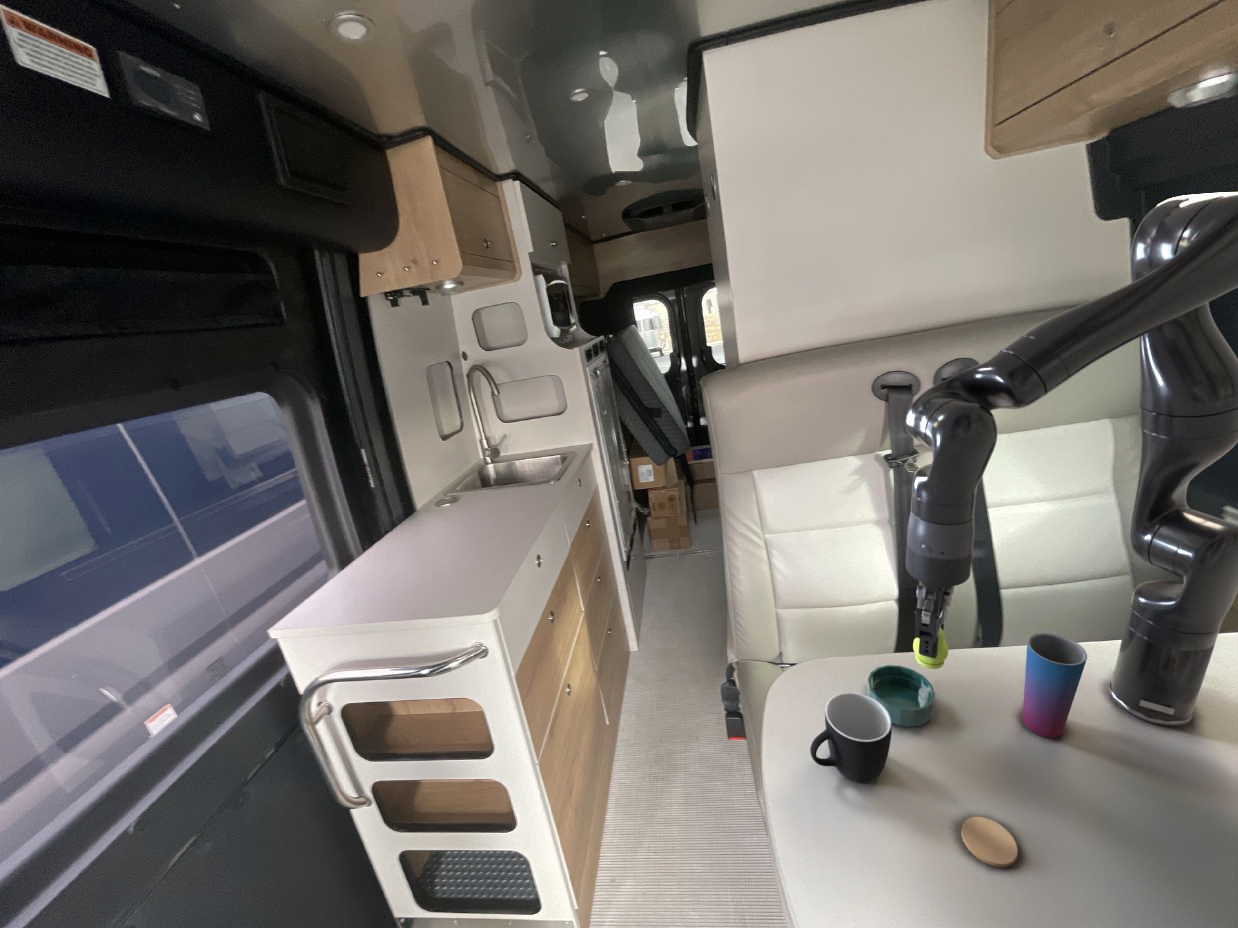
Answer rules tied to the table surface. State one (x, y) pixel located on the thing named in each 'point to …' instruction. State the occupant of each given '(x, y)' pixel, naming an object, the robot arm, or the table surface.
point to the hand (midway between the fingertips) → (931, 644)
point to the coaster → (989, 841)
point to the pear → (932, 662)
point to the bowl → (902, 694)
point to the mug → (855, 736)
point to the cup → (1051, 682)
